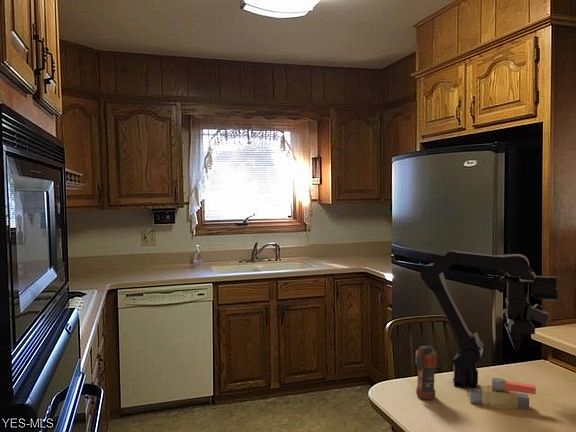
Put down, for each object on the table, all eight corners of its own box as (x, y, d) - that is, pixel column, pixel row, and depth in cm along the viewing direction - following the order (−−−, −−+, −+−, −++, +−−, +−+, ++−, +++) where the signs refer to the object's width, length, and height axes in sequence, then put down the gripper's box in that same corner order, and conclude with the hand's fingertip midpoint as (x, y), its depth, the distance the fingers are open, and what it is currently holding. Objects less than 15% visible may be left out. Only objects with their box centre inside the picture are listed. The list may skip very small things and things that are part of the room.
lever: (491, 389, 134) (492, 381, 134) (491, 384, 137) (492, 377, 137) (535, 395, 130) (536, 387, 130) (534, 390, 133) (534, 383, 133)
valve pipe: (470, 404, 135) (471, 389, 134) (469, 397, 140) (469, 382, 139) (529, 411, 131) (530, 395, 130) (526, 403, 136) (526, 388, 135)
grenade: (408, 398, 139) (409, 347, 138) (421, 390, 144) (422, 341, 144) (427, 404, 135) (428, 351, 134) (440, 396, 140) (440, 345, 140)
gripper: (556, 305, 131) (554, 362, 131) (540, 292, 149) (539, 342, 149) (511, 303, 134) (510, 358, 134) (501, 290, 152) (500, 339, 152)
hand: (516, 349), depth 143 cm, fingers closed
